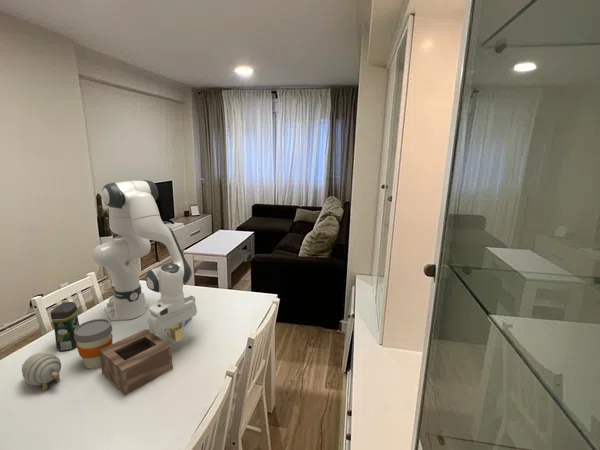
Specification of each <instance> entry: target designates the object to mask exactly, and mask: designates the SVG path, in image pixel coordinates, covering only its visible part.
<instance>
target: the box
mask: <svg viewBox="0 0 600 450" xmlns="http://www.w3.org/2000/svg"><path fill="white" fill-rule="evenodd" d="M99 353H100V360H101V366H100V368H101V371H102V374H103V375H104V376H105V377H106V379H108V380H109V381H110V382H111V383H112V385H114V386H115V387H116V388H117V389H118V390H119V391H120V392H121V393H122V394H123V396H128V395H129V394H131V393H132V392H134V391H136V390H139V388H141V387H143V386H145V385H147V384H148V383H150V382H152V381H153V380H155V379H157V378H158V377H161V376H162V375H164V374H165V373H167V372H169V371H170V370H172V369H174V365H173V352H172V345H171V344H170V343H168V342H166V341H165V340H164V339H162V338H160V337H159V336H157V334H154V333H152V332H151V331H150V330H149V329H147V328H146V329H143V330H141V331H138V332H136V333H134V334H132V335H130V336H128V337H125V338H122V339H120V340H118V341H116V342H114V343H113V342H112V344H111V345H109V346H107V347H104V348H102V349H100V350H99Z"/></svg>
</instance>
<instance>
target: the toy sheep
mask: <svg viewBox="0 0 600 450" xmlns="http://www.w3.org/2000/svg"><path fill="white" fill-rule="evenodd" d="M61 370H62V362H61V360H60V358H59V357H58V356H57V355H56V354H54V353H51V352H37V353H34V354H31V355H30V356H29V357H28V358H27V359H26V360H25V361H24V362H23V364H21V373H22V377H23V379H24V380H25V381H26V383H27V384H29V385H32V386H37V387H38V386H39V387H40V386H42V389H43V391H46V390H48V388H49V387H48V383H50V382H51V381H53V380H54V381H55V383H59V382H60V381H61V380H60V372H61Z"/></svg>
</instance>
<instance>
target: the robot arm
mask: <svg viewBox="0 0 600 450" xmlns="http://www.w3.org/2000/svg"><path fill="white" fill-rule="evenodd" d="M101 195H102V200H103V203H104V204H105V205H106V206H107V207H109V209H108V211H109V212H108V215H109V218H108V219H109V229H110V231H111V232H112V233H114V234H116V235H119V236H122V238H121V239H117V240H112V241H111V240H110V241H107V242H104V243H101V244H99V245H96V246H95V247H94V249H93V251H92V258H93V260H94V262H95V263H96V264H97V265H98V266H100V267H104V268H105V269H106V270H108V271H109V273H110V275H111V276H112V279H113V284H114V287H113V295H112V296H110V297H109V299H108V302H107V303H106V306H105V307H104V311H105V313H106V315H107V317H108V318H109V321H127V320H133V319H136V318H139V317H141V316H143V315H144V314H145V313H146V311H147V309H148V308H149V309H148V311H149V316H148V330H149V331H150V332H152V333H153V334H155V335H157V334H158V333H160V332H163V331H165V332H166V336H167V337H168V336H171V335H172V331H171V330H169V329H170V327H171V326H174V325H176V324H178V323H180V324H179V326H181V327H183V325H184V323H185V320H186V319H189V318H191V317H192V318H193V317H194V316H197V313H198V311H197V305H196V297H195V296H194V295H189V296H187V297H185V292H184V290H183V289H184V285H185V284H187V283H189V281H190V279H191V277H192V275H193V274H192V268H191V266H190V264H189V263H188V261H187V260H186V258H185V256H184V254H183V251H182V248H181V246H180V244H179V242H178V239H177V238H176V236H175V232H174V231H173V230H172V228H170V227H169V226H167V225H166V224H165V223H164V221H163V220H162V218H161V215H160V211H159V207H158V204H157V203H156V200H157V199H158V197H159V191H158V187H157V185H156V184H155V183H154V181H153V180H152V181H151V180H144V179H143V180H128V181H127V180H126V181H125V180H124V181H120V182H119V181H118V182H110V183H107V184H105V185H103V187H102V190H101ZM151 241H155V242H159V243H162V244H163V245H164V246H166V249H167V251H168V253H169V256H170V258H171V260H172V262H169V263H165V264H162V265H161V266H158V267H155V268H152V269H149V271H148V272H147V274H146V276H145V283H146V287H147V289H149V290H151V291H152V292H156V293H160V299H158V301H157V302H156V303H154V304H153V305H151V306H150V305H149V304H148V303H147V302H146V298H145V297H146V296H145V293H144V292H142V286H141V284H140V274H139V271H138V270H137V268H136V267H133V266H128V265H126V262H129V261H132V260H137V259H140V258H143V257H145V256H148V255H149V253H150V252H151V248H152V245H151ZM183 328H184V327H183Z"/></svg>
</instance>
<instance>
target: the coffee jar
mask: <svg viewBox="0 0 600 450" xmlns="http://www.w3.org/2000/svg"><path fill="white" fill-rule="evenodd" d="M78 315H79V314H78V308H77V304H76V302H74V301H63V302H62V303H60V304H58V305H57V306H55V308H53V309H52V310H51V311H50V319H51V321H52V325H53V329H54V335H55V336H54V337H55V345H56V350H57V351H60V352H61V351H62V352H63V351H64V352H65V351H70V350H73V349H75V348H77V346H76V344H77V342H76V341H75V339H74V330H75V329H76V327H78V326H79V325H80V321H79V316H78Z"/></svg>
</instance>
